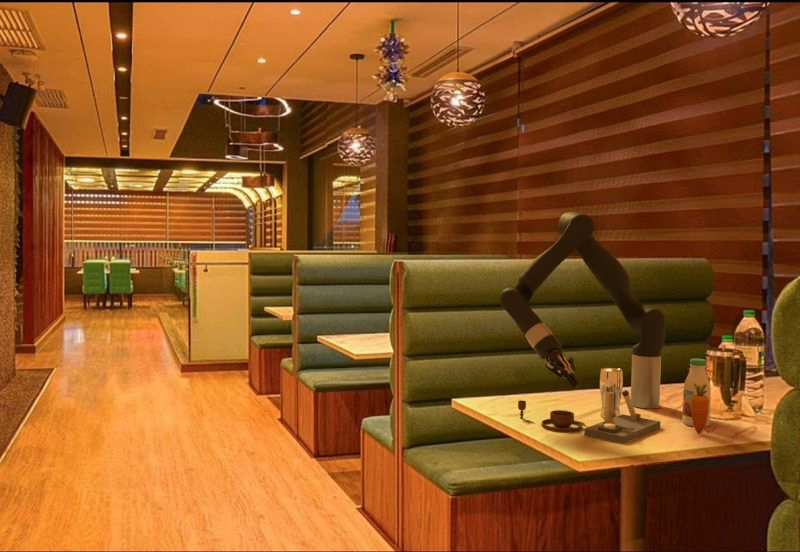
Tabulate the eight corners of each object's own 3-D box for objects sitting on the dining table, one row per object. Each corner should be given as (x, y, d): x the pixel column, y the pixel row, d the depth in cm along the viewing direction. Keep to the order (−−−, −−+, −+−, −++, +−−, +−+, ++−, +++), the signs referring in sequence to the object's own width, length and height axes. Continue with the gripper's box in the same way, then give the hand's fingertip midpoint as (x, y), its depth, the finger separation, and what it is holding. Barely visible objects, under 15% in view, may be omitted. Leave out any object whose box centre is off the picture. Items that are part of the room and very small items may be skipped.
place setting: (543, 436, 211) (544, 415, 211) (513, 419, 230) (514, 400, 230) (597, 432, 216) (598, 412, 216) (564, 416, 235) (564, 397, 235)
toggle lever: (633, 418, 222) (623, 390, 224) (639, 417, 221) (628, 389, 223) (630, 420, 221) (620, 391, 223) (636, 418, 220) (625, 389, 222)
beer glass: (622, 420, 229) (624, 372, 228) (599, 418, 230) (601, 371, 229) (620, 415, 235) (622, 368, 235) (598, 413, 237) (599, 367, 236)
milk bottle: (708, 422, 227) (711, 358, 226) (710, 428, 220) (712, 362, 219) (681, 420, 229) (684, 356, 228) (682, 426, 222) (684, 360, 221)
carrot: (686, 432, 215) (688, 381, 215) (702, 431, 216) (704, 381, 215) (694, 436, 210) (696, 384, 210) (711, 436, 211) (713, 384, 210)
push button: (607, 427, 211) (607, 422, 211) (617, 429, 209) (617, 424, 209) (601, 429, 209) (601, 424, 208) (612, 431, 206) (612, 426, 206)
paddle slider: (607, 422, 217) (608, 391, 216) (615, 423, 215) (615, 392, 215) (602, 423, 214) (603, 393, 214) (610, 425, 213) (611, 394, 212)
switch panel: (622, 420, 228) (622, 409, 228) (660, 427, 220) (660, 415, 220) (584, 435, 210) (584, 422, 210) (623, 443, 202) (624, 430, 202)
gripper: (538, 335, 222) (574, 381, 215) (561, 331, 232) (596, 375, 224) (523, 350, 226) (557, 396, 218) (546, 346, 236) (580, 390, 228)
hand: (577, 385), depth 221 cm, fingers closed
